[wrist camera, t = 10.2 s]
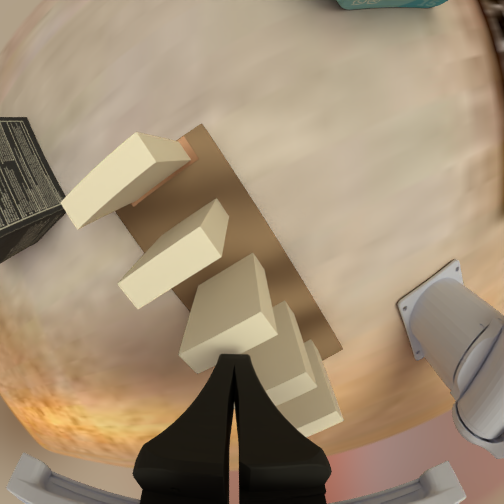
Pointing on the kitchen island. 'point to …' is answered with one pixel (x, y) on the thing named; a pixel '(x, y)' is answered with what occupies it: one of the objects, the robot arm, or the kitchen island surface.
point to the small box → (24, 189)
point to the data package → (388, 3)
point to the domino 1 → (124, 177)
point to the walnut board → (237, 234)
